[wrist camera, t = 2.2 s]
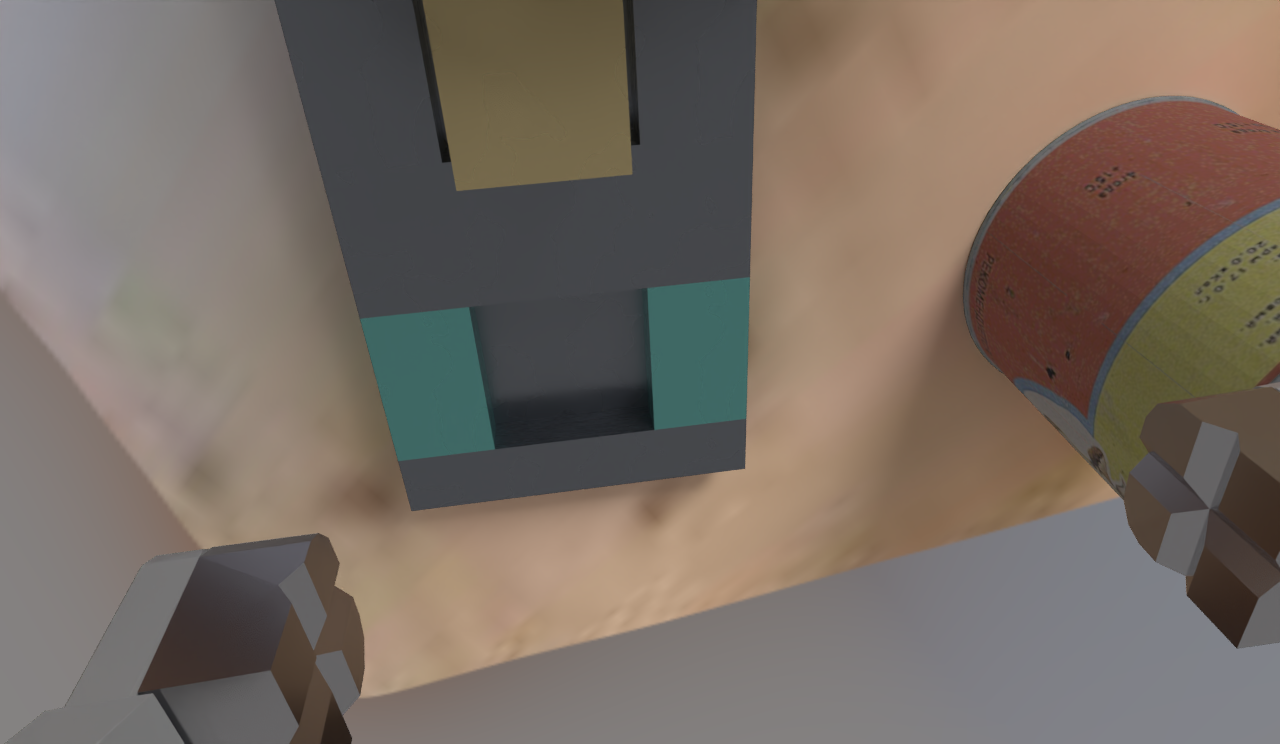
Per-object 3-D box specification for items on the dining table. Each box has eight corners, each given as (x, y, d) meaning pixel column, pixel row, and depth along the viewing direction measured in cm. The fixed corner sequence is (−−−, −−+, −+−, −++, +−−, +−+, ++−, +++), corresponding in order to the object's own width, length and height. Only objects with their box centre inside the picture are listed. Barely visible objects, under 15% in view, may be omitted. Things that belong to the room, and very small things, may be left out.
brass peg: (441, -38, 21) (421, -2, 16) (595, -49, 22) (621, -17, 17) (467, 118, 23) (456, 191, 18) (606, 105, 24) (633, 174, 19)
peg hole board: (253, -167, 20) (229, -168, 18) (741, -194, 21) (761, -198, 19) (416, 474, 31) (411, 510, 29) (732, 435, 32) (744, 468, 30)
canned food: (900, 296, 29) (1103, 528, 19) (1160, 21, 25) (1589, 135, 15) (1079, 429, 34) (1318, 672, 24) (1323, 215, 30) (1734, 400, 20)
